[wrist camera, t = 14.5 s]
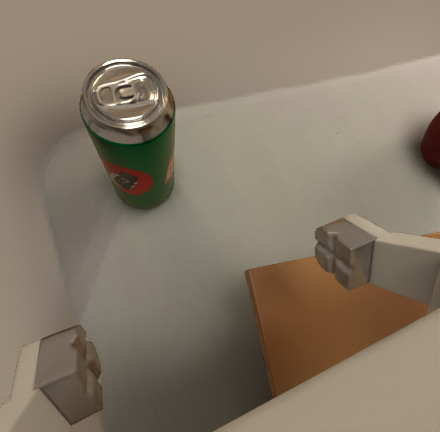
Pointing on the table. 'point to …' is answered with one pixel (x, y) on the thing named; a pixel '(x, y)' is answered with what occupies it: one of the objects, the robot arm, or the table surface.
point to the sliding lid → (319, 318)
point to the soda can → (132, 129)
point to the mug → (432, 143)
